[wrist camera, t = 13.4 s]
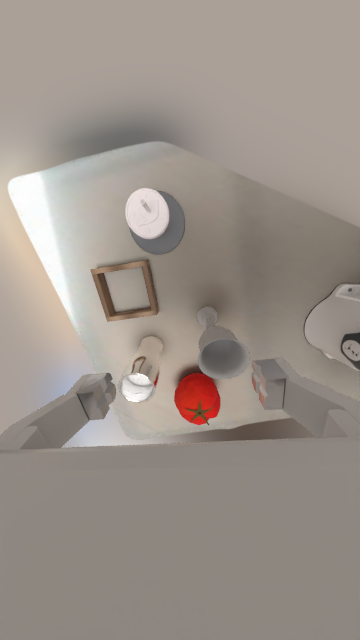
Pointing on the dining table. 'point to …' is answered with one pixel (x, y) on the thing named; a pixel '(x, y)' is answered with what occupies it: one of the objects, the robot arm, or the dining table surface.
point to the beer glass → (142, 371)
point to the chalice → (220, 348)
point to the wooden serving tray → (106, 298)
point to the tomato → (197, 398)
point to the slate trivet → (171, 233)
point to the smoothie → (147, 213)
